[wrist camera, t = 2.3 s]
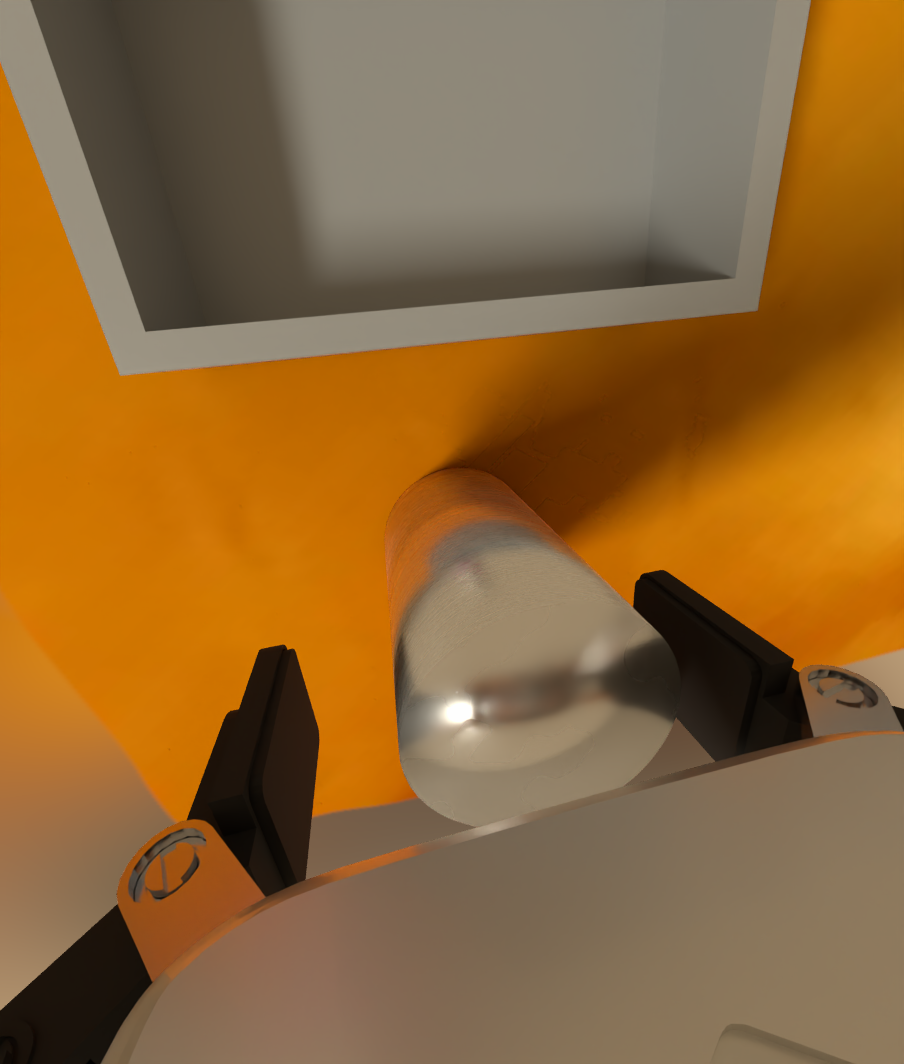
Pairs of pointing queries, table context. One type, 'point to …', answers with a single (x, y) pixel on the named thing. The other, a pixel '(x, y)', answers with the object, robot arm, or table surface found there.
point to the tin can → (513, 657)
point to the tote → (403, 165)
